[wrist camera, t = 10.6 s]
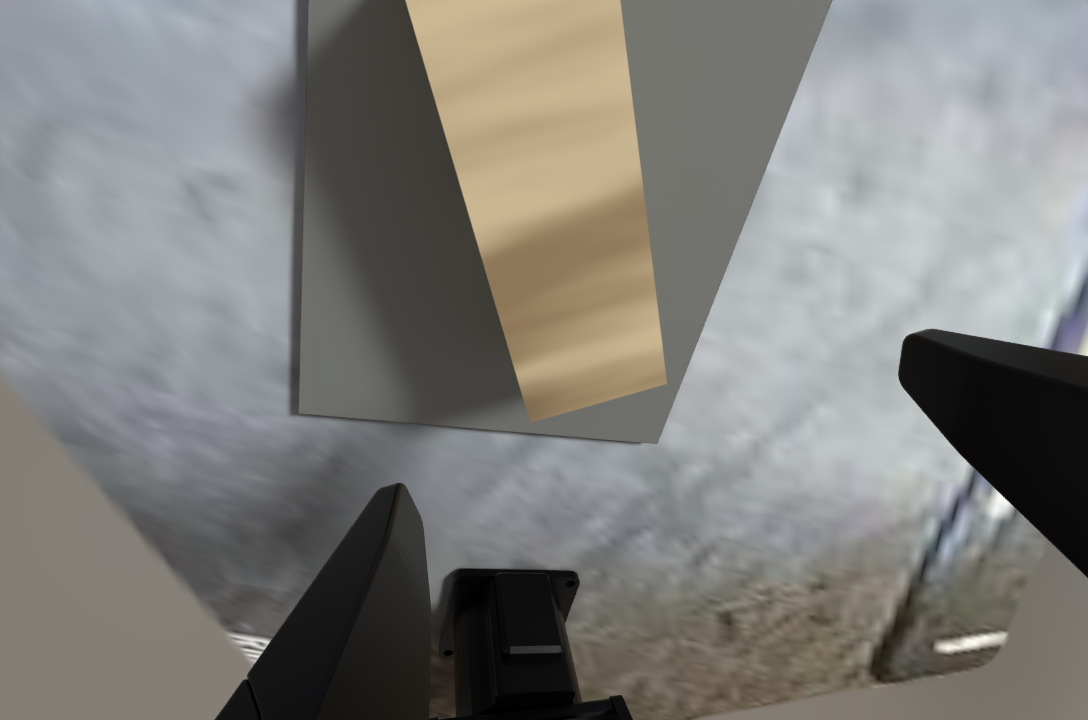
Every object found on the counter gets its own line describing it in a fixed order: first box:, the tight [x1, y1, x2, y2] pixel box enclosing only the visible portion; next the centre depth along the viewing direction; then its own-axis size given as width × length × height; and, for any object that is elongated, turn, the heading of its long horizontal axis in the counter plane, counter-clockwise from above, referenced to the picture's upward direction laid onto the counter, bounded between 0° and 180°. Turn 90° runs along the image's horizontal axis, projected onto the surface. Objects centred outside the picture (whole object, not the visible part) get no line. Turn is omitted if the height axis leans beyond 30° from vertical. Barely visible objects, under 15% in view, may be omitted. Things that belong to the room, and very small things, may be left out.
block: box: [405, 0, 667, 423], centre depth 16 cm, size 4×4×12 cm
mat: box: [299, 0, 832, 444], centre depth 19 cm, size 18×15×1 cm
